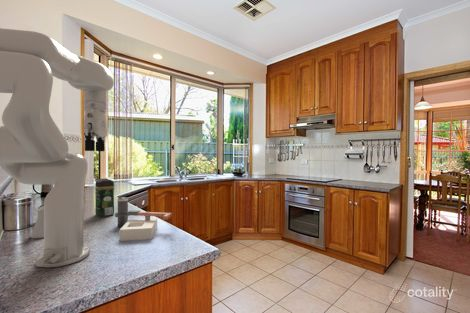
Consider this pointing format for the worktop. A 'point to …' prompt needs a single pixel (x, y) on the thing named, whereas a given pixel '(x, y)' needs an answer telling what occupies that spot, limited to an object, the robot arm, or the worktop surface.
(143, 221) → the socket block
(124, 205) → the plug
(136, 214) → the clip
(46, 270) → the worktop surface
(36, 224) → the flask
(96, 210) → the coffee jar
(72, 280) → the worktop surface
